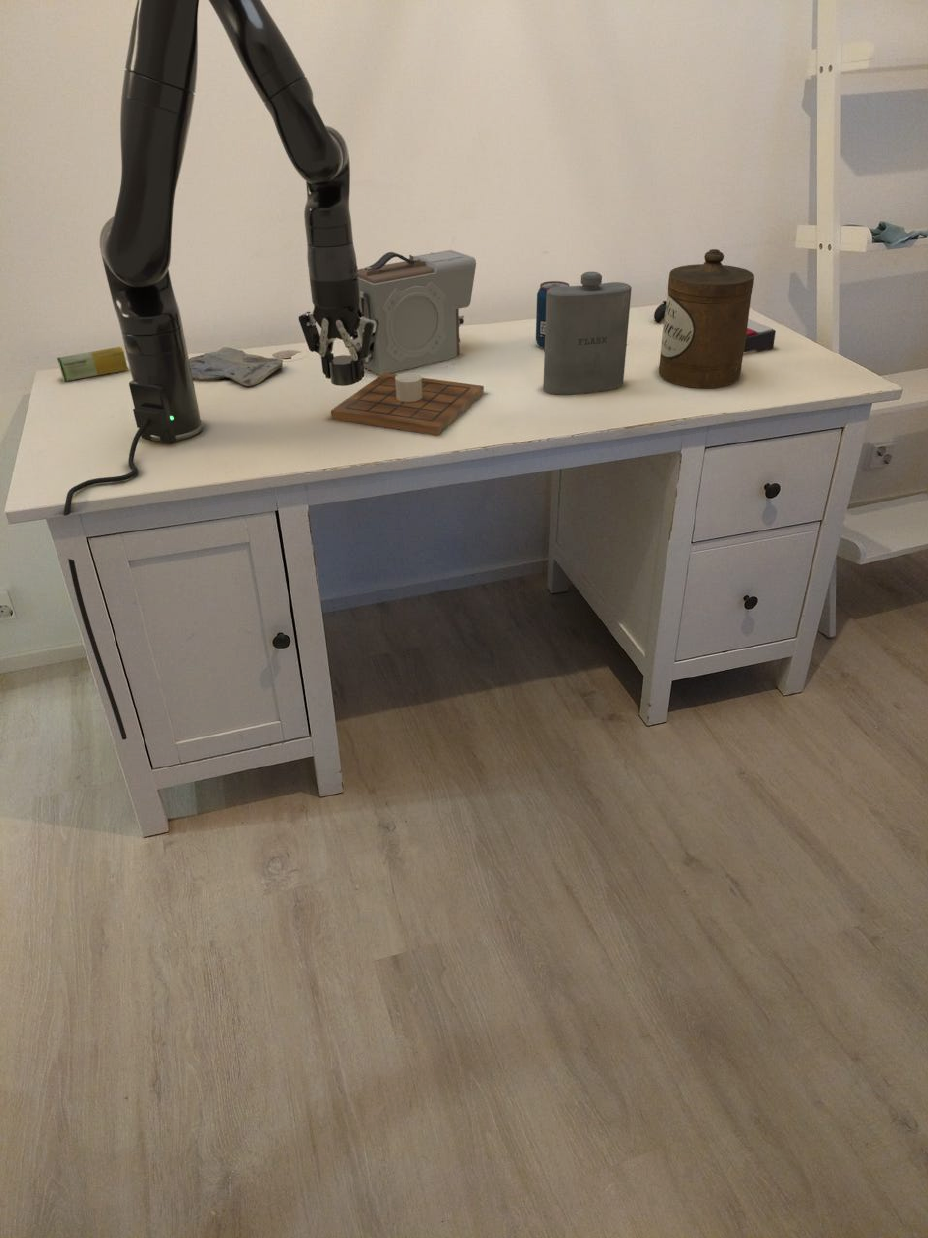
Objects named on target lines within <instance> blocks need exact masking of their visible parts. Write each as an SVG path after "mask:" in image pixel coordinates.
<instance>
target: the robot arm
mask: <svg viewBox="0 0 928 1238" xmlns="http://www.w3.org/2000/svg"><path fill="white" fill-rule="evenodd" d="M208 1H209V4H210V5H211V7H212V9H213V11H214V12H215V14H216V15H217V18H218V20H219V21H220V23H221V25H222V27H223V29H224V31H225V33H226V36H227V37H228V39H229V42H230V43H231V46H232V48H233V50H234V52H235V54H236V56H237V58H238V60H239V62H240V64H241V66H242V68H243V69H244V71H245V73H246V75H247V77H248V79H249V81H250V83H251V84H252V86H253V88H254V89H255V92H256V93H257V95H258V97H259V98H260V100H261V101H262V103H263V105H264V107H265V108H266V110H267V111H268V113H269V114H270V116H271V118H272V120H273V123H274V126H275V129H276V131H277V132H276V133H277V134H278V136H279V139H280V141H281V144H282V146H283V148H284V150H285V154H286V156H287V158H288V160H289V161H290V162H291V165H292V167H293V168H294V169H295V171H296V172H297V174H298V175H299V176H300V177H301V179H303V180H304V181H305V183H306V184H305V185H306V195H307V196H306V197H307V198H306V202H305V206H304V211H303V216H304V217H303V218H304V219H303V220H304V229H305V237H306V245H307V247H306V249H307V251H306V252H307V255H306V258H307V268H308V277H309V284H310V291H311V292H310V293H311V301H312V304H313V305H314V306H313V311H312V312H311V311H306V312H305V313H303V314H300V315H299V316H298V322H299V324H300V328H301V330H302V333H303V336H304V339H305V341H306V344H307V347H308V350H309V351H310V352H312V353H313V352H315V353H317V354H318V355H319V357H320V362H321V371H322V373H323V375H324V376H325V379H329V380H330V371H329V362H328V361H329V359H330V358H332V357H335V356H334V353H332V351H333V349H334V342H335V340H336V339H339V340H341V341H342V342H343V344H344V346H345V348H347V350H348V353H349V356H351V358H352V359H353V360H351V368H352V379H353V382H356V383H360V381H362V380H363V378H364V377H365V374H366V372H365V367H364V358H367V357H368V356H369V355H371V354H372V353H374V348H375V343H376V337H377V331H378V325H379V322H378V320H377V319H373V320H370V319H368V318H365V317H363V315H362V312H361V311H360V308H359V302H360V296H359V285H358V273H357V270H358V269H359V268H358V265H357V255H356V251H355V245H354V237H353V227H352V225H353V224H352V216H351V210H350V192H351V191H350V186H351V182H350V181H351V166H350V165H351V164H350V163H351V161H350V154H349V147H348V145H347V142H346V140H345V138H344V137H343V135H342V134H341V133H340V131H338V130H337V129H336V128H334V127H332V126H328V125H325V122H324V121H323V119H322V117H321V115H320V113H319V111H318V109H317V107H316V105H315V103H314V99H315V97H314V91H313V89H312V86H311V85H310V82H309V80H308V78H307V77H306V74H305V72H304V70H303V69H302V67H301V65H300V63H299V61H298V60H297V58H296V56H295V54H294V52H293V50H292V48H291V47H290V45H289V43H288V41H287V40H286V38H285V36H284V35H283V33H282V31H281V30H280V28H279V26H278V25H277V24H276V22H275V20H274V19H273V17H272V16H271V14H270V13H269V11H268V9H267V8H266V6H265V4H264V3H263V1H262V0H208ZM199 5H200V0H137V2H136V5H135V9H134V10H135V11H134V15H133V21H132V24H131V31H130V36H129V42H128V48H127V54H126V58H125V59H126V60H125V66H124V73H123V81H122V87H121V96H120V97H121V98H120V111H119V112H120V115H119V117H120V118H119V125H120V126H119V137H120V138H119V139H120V159H121V161H120V162H121V176H120V185H119V192H118V196H117V201H116V206H115V210H114V211H115V212H114V216H111V217H110V218H109V219H108V220H107V221H106V222H105V223H104V225H103V226H102V228H101V231H100V234H99V250H100V256H101V259H102V260H101V261H102V263H103V268H104V271H105V275H106V279H107V283H108V288H109V292H110V296H111V300H112V304H113V307H114V311H115V314H116V318H117V320H118V325H119V329H120V333H121V336H122V341H123V346H124V350H125V355H126V359H127V363H128V366H129V367H128V368H129V371H130V375H131V380H130V381H129V382H128V387H129V392H130V395H131V399H132V404H133V407H134V408H133V409H132V411H133V415H134V420H135V424H136V428H138V429H137V431H136V433H135V435H134V437H133V440H132V442H131V446H130V451H129V455H128V463H127V464H128V467H129V469H130V470H131V471H129V472H128V473H125V474H122V475H115V476H105V477H104V476H103V477H96V478H92V479H91V478H90V479H88V480H85V481H83V482H80V483H79V484H77V485H73V487H71V488H70V489H69V490H68V492H67V494H66V497H65V502H64V507H63V516H65V517H66V516H69V515H70V511H71V508H72V507H71V506H72V503H73V497H74V495H75V493H78V491H80V490H83V489H85V488H87V487H89V486H93V485H98V484H103V483H104V484H105V483H118V482H123V481H126V480H129V479H131V478H133V477H135V476H136V475H137V474H138V473H139V470H138V468H137V466H136V465H135V463H134V461H135V454H136V451H137V446H138V443H139V441H140V438H141V439H142V440H143V439H144V440H150V441H155V442H161V443H165V444H166V443H167V444H173V443H175V442H178V441H183V440H185V439H189V438H193V437H194V436H196V435H199V433H201V432H202V430H203V429H204V423H203V421H202V418H201V412H200V408H199V402H198V398H197V393H196V388H195V383H194V379H193V377H192V372H191V367H190V362H189V359H190V357H189V353H188V349H187V348H188V347H187V342H186V338H185V333H184V332H185V331H184V328H183V322H182V321H183V320H182V316H181V312H180V308H179V304H178V301H177V298H176V295H175V292H174V291H175V290H174V287H173V283H172V278H171V274H170V269H169V268H170V265H171V261H172V240H173V239H172V237H173V233H172V232H173V221H174V208H175V207H174V206H175V197H176V191H177V186H178V183H179V177H180V174H181V169H182V165H183V161H184V156H185V151H186V147H187V142H188V137H189V131H190V127H191V122H192V116H193V110H194V102H195V98H196V97H195V96H196V91H197V80H198V79H197V78H198V63H199V62H198V61H199V26H198V25H199ZM360 324H361V326H362V332H364V335H363V342H362V344H361V336H360V334H359V331H358V327H359V325H360ZM317 325H318V326H319V328H320V333H319V330H318V327H317ZM67 560H68V561H67V562H68V565H69V570H70V574H71V580H72V585H73V588H74V592H75V596H76V600H77V604H78V608H79V610H80V614H81V618H82V621H83V624H84V628H85V631H86V634H87V637H88V640H89V643H90V646H91V649H92V652H93V655H94V658H95V661H96V664H97V667H98V670H99V672H100V676H101V679H102V681H103V684H104V688H105V690H106V693H107V696H108V699H109V702H110V706H111V708H112V711H113V714H114V718H115V721H116V724H117V727H118V731H119V733H120V737H121V739H122V740H126V739H128V737H127V734H126V730H125V726H124V723H123V721H122V718H121V714H120V710H119V707H118V705H117V702H116V699H115V696H114V691H113V689H112V686H111V683H110V680H109V677H108V675H107V671H106V668H105V665H104V663H103V660H102V657H101V654H100V650H99V648H98V645H97V641H96V638H95V636H94V632H93V628H92V626H91V622H90V618H89V616H88V612H87V609H86V605H85V602H84V601H85V600H84V598H83V594H82V590H81V586H80V581H79V577H78V572H77V568H76V562H75V559H70V558H68V559H67Z"/></svg>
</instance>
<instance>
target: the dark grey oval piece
mask: <svg viewBox="0 0 928 1238" xmlns="http://www.w3.org/2000/svg"><path fill="white" fill-rule="evenodd" d="M666 303H667V300H663V301H662V303H661V304H660V305H658V306H657V307H656V309H655V310H654V314H653V318H654V319H653V320H654V321H655V322H656V323H661V322H662V321H664V319H665V311H666Z"/></svg>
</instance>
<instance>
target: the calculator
mask: <svg viewBox="0 0 928 1238" xmlns="http://www.w3.org/2000/svg"><path fill="white" fill-rule="evenodd" d="M776 332H777V331H776V330H775V329H774V328H773V327H770V326H768V325H766V324H762V323H761V322H758V321H755V320H752V319H750V318H748V326H747V334H746V342H745V348H744V354H745V353H748V352H752V351H756V352H758V353H759V352H764V351H767V350H772V349H774V346H775V340H776Z"/></svg>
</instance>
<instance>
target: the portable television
mask: <svg viewBox="0 0 928 1238" xmlns="http://www.w3.org/2000/svg"><path fill="white" fill-rule="evenodd" d="M408 256H409V257H408V258H407V257H406V256H404V255H402V254H400V253H397V252H394V251H388V252H386V253H384V254H383V255H381V257H380V258H379V259H378V260H377V261H376V262H374V263H373V264H371V265H369V266H366V267H364V268H363V267H362V268H357V269H358V270H357V273H358V285H359V296H360V302H359V308H360V311H361V312H362V315H363V317H365V318H368V319H370V320H373V319H377V320H378V322H379V325H378V331H377V337H376V343H375V348H374V353H372V354H371V355H369V356H368V357H367V358H364V369H367V370H369V371H371V372H373V373H374V374H376V375H377V376H381V375H382V374H383V373H391V374H395V373H397V372H401V371H406V370H410V369H414V368H418V367H422V366H426V365H430V364H435V363H438V362H442V361H447V360H452V359H455V358H456V357H458V356H460V343H461V338H460V326H461V325H464V324H465V323H464V322H465V321H464V318H465V315H459V314H460V313H459V312H460V311H459V310H461V309H464V308H468V307H469V306H470V304H471V301H472V293H473V287H474V281H475V274H476V268H477V262H476V258H475V257H474V256H471V255H468V254H465V253H462V252H459V251H455V250H452V249H447V250H441V251H437V252H430V253H425V254H418V255H412V254H409V255H408ZM394 258H398V259H400V260H402V261H399V262H392V263H388V262H389V261H391V260H392V259H394ZM358 331H359V334H360V336H361V344H362V342H363V335H364V332H362V326H361V324H360V325H359V327H358Z"/></svg>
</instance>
